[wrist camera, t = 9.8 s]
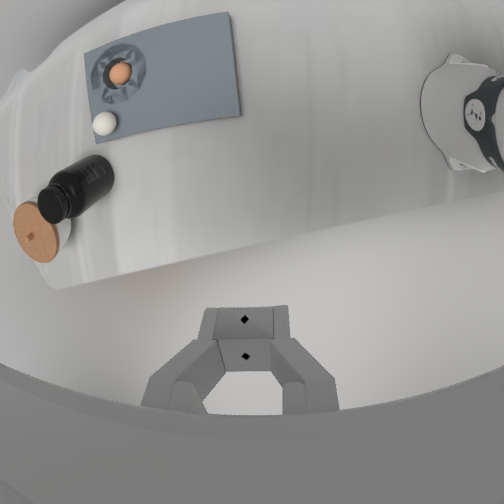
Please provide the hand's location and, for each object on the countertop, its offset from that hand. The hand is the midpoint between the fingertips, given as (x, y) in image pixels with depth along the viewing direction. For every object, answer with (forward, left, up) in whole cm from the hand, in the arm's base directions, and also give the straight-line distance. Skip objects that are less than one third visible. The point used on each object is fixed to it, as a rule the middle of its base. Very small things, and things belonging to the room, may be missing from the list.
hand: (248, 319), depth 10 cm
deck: (+12, -13, -29) cm, 34 cm away
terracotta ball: (+17, -15, -27) cm, 35 cm away
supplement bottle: (+25, -1, -29) cm, 38 cm away
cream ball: (+19, -8, -25) cm, 32 cm away
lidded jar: (+36, +4, -29) cm, 46 cm away
